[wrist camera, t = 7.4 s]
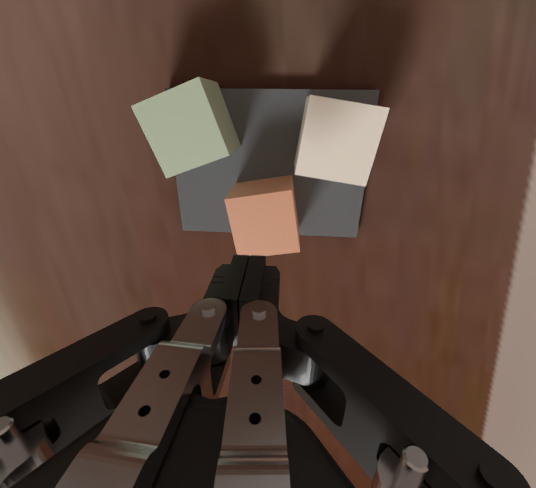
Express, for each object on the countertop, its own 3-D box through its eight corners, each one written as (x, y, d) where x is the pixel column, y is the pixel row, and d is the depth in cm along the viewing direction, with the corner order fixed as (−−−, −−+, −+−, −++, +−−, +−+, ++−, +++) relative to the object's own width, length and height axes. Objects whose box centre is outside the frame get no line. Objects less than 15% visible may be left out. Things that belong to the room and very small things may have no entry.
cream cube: (306, 96, 20) (310, 94, 16) (370, 107, 20) (389, 108, 16) (294, 161, 22) (294, 174, 18) (352, 171, 22) (365, 186, 18)
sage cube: (161, 105, 21) (130, 106, 17) (217, 82, 20) (198, 76, 16) (188, 165, 23) (166, 178, 19) (241, 146, 22) (229, 155, 18)
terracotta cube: (236, 182, 23) (224, 199, 19) (291, 174, 23) (291, 189, 19) (246, 234, 25) (238, 259, 21) (298, 227, 24) (300, 252, 20)
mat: (168, 88, 21) (164, 87, 21) (376, 90, 20) (379, 89, 20) (185, 226, 26) (182, 230, 25) (354, 233, 25) (356, 237, 24)
